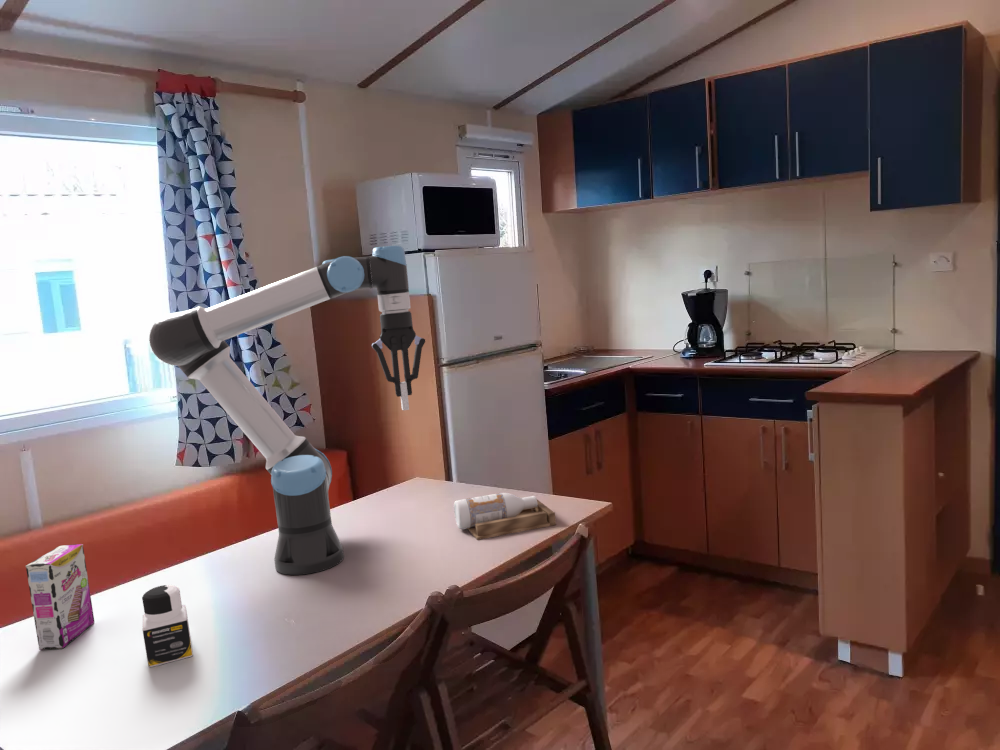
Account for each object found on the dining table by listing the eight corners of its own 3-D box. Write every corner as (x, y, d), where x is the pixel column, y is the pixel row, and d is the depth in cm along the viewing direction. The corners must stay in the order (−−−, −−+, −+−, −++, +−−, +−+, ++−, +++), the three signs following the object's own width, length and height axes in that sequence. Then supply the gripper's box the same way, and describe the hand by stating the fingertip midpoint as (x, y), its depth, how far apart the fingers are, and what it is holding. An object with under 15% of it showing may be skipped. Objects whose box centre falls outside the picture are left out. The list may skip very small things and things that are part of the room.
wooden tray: (476, 540, 184) (475, 527, 183) (462, 523, 197) (461, 510, 197) (555, 525, 189) (554, 512, 189) (536, 509, 203) (535, 497, 202)
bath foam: (452, 497, 193) (530, 483, 198) (454, 524, 195) (532, 510, 200) (458, 505, 187) (539, 492, 192) (461, 533, 188) (541, 519, 193)
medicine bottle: (148, 668, 135) (137, 601, 134) (148, 651, 142) (138, 587, 140) (193, 657, 138) (182, 591, 136) (191, 640, 145) (181, 578, 143)
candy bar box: (64, 649, 146) (49, 563, 144) (38, 651, 146) (23, 566, 144) (97, 622, 157) (83, 542, 155) (72, 624, 157) (58, 544, 155)
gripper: (368, 315, 184) (379, 415, 187) (424, 309, 187) (434, 408, 190) (366, 313, 191) (377, 410, 194) (420, 308, 194) (429, 403, 197)
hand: (405, 409), depth 192 cm, fingers closed
